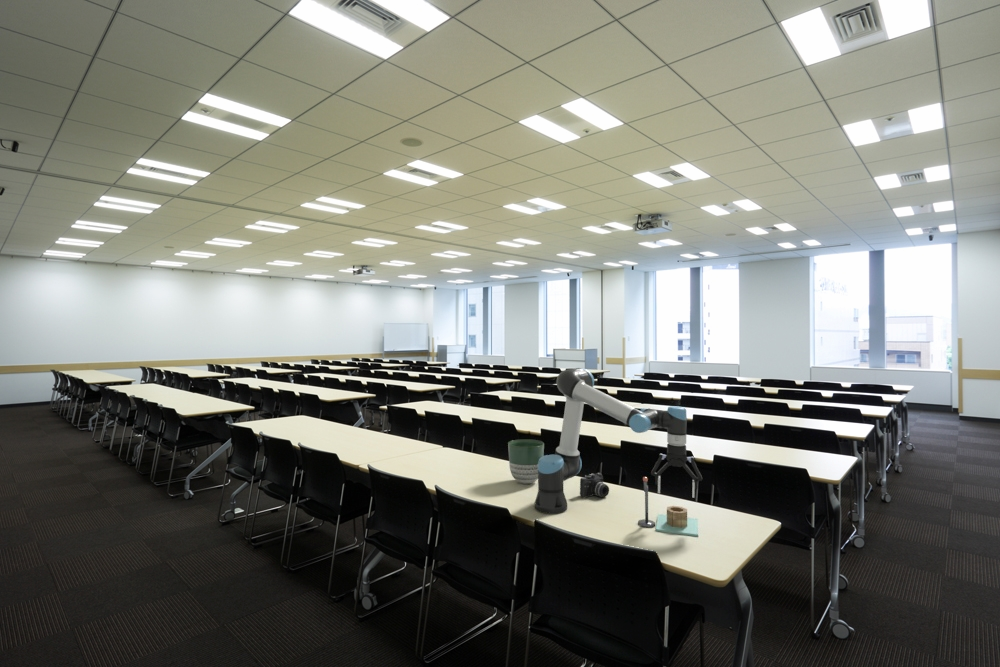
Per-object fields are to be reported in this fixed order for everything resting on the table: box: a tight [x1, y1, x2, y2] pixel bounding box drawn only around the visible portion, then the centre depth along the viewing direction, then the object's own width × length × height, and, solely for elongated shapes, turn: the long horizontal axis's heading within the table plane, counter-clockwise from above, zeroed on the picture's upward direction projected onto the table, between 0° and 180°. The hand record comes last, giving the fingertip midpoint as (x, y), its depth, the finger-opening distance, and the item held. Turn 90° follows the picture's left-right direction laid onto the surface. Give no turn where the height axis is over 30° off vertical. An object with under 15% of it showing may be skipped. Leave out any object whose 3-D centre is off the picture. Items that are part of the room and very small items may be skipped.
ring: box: [666, 505, 688, 528], centre depth 205 cm, size 8×8×6 cm
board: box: [655, 513, 699, 537], centre depth 205 cm, size 16×18×1 cm
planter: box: [507, 439, 545, 485], centre depth 267 cm, size 20×20×21 cm
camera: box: [579, 472, 610, 498], centre depth 244 cm, size 14×11×10 cm
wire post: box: [637, 476, 656, 529], centre depth 205 cm, size 7×10×22 cm, turn 159°
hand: (675, 494), depth 205 cm, fingers open, 13 cm apart
